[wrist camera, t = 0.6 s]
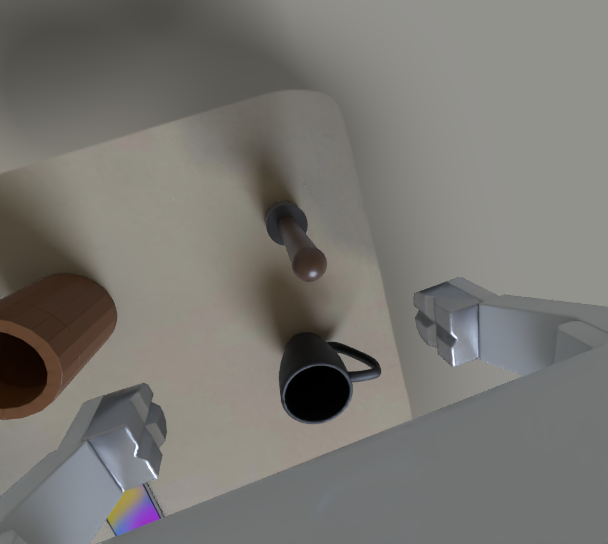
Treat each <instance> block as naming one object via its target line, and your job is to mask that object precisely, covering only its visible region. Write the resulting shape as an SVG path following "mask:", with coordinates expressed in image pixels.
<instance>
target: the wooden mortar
mask: <svg viewBox="0 0 608 544" xmlns="http://www.w3.org/2000/svg"><path fill="white" fill-rule="evenodd" d="M116 322H117V312H116V307H115V304H114V302H113V300H112V298H111V297H110V295H109V294H108V293H107V292H106V291H105V290H104V289H103V288H102V287H101V286H100V285H98V284H97V283H96V282H94V281H92V280H90V279H88V278H86V277H83V276H79V275H75V274H55V275H51V276H48V277H46V278H43V279H41V280H38V281H36V282H34V283H32V284H30V285H28V286H26V287H24V288H22V289H20V290H18V291H17V292H15V293H13V294H11V295H9V296H7V297H5V298H3V299H1V300H0V419H2V420H9V419H17V418H24V417H27V416H30V415H32V414H35V413H37V412H40V411H42V410H43V409H44V408H46V407H47V406H48V405H49V404H51V403H52V402H53V401H54V400H55V399H56V398H57V397H58V395H59V394H60V393H61V392H62V391H63V390H64V389H65V387H66V386H67V385H68V384H69V383H70V382H71V381H72V379H73V378H74V377H75V376H76V375H77V374H78V373H79V372H80V370H81V369H82V368H83V367H84V366H85V365H86V364H87V362H88V361H89V360H90V359H91V358H92V357H93V356H94V354H95V353H96V352H97V351H98V350H99V349H100V348H101V346H102V345H103V344H104V343H105V342H106V341H107V340H108V338H109V337H110V335H111V334H112V333H113V331H114V329H115V326H116Z"/></svg>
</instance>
